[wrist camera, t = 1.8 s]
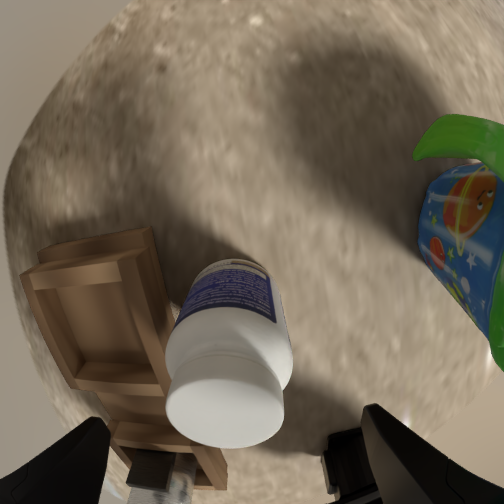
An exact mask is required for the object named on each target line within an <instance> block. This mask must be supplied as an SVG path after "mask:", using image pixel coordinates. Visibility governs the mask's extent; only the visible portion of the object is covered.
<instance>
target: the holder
mask: <svg viewBox="0 0 504 504" xmlns="http://www.w3.org/2000/svg"><path fill="white" fill-rule="evenodd" d="M37 254H38V258H39V261H40V264H37V265H35V266H34V267H32V268H30V269H29V270H27V271H25V272H24V273H22V274H20V275H19V276H20V279H21V282H22V285H23V288H24V291H25V294H26V296H27V299H28V302H29V304H30V307H31V310H32V312H33V314H34V317H35V319H36V322H37V324H38V326H39V329H40V331H41V333H42V335H43V338H44V340H45V342H46V344H47V346H48V348H49V350H50V352H51V354H52V356H53V358H54V360H55V362H56V364H57V366H58V368H59V369H60V371H61V373H62V375H63V377H64V378H65V380H66V382H67V384H68V385H69V387H70V388H72V389H79V390H86V391H94V392H96V394H97V396H98V398H99V399H100V401H101V403H102V404H103V406H104V407H105V409H106V411H107V412H108V414H109V415H110V417H111V418H112V420H110V422H109V424H108V426H107V427H108V429H109V430H110V432H111V440H110V446H111V448H112V449H113V450H114V451H115V453H116V454H117V455H118V456H119V458H120V459H121V460H122V461H123V462H124V463H125V465H126V466H127V467H128V468H129V469H130V468H131V465H132V462H133V459H134V456H135V453H136V450H137V448H140V449H148V450H158V451H169V452H185V453H194V455H195V457H196V458H197V460H198V461H197V467H196V474H195V481H194V488H193V489H199V490H227V478H228V474H227V463H226V461H225V459H224V457H223V454H222V452H221V450H220V448H218V447H212V446H208V445H204V444H201V443H198V442H196V441H193V440H191V439H189V438H188V437H186V436H184V435H183V434H181V433H180V432H179V431H178V430H177V429H176V428H175V427H174V426H173V425H172V424H171V422H170V421H169V419H168V417H167V414H166V409H165V405H166V399H167V395H168V392H169V389H170V385H171V382H172V379H171V378H170V375H169V373H168V370H167V367H166V362H165V352H166V346H167V343H168V340H169V337H170V335H171V332H172V330H173V327H174V325H175V321H174V317H173V314H172V310H171V307H170V303H169V299H168V295H167V292H166V288H165V284H164V280H163V276H162V272H161V268H160V264H159V259H158V255H157V251H156V246H155V242H154V237H153V232H152V227H145V228H139V229H133V230H128V231H122V232H117V233H111V234H106V235H101V236H95V237H90V238H85V239H80V240H75V241H70V242H66V243H61V244H56V245H51V246H49V247H47V248H45V249H43V250H41V251H39V252H37Z"/></svg>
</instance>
